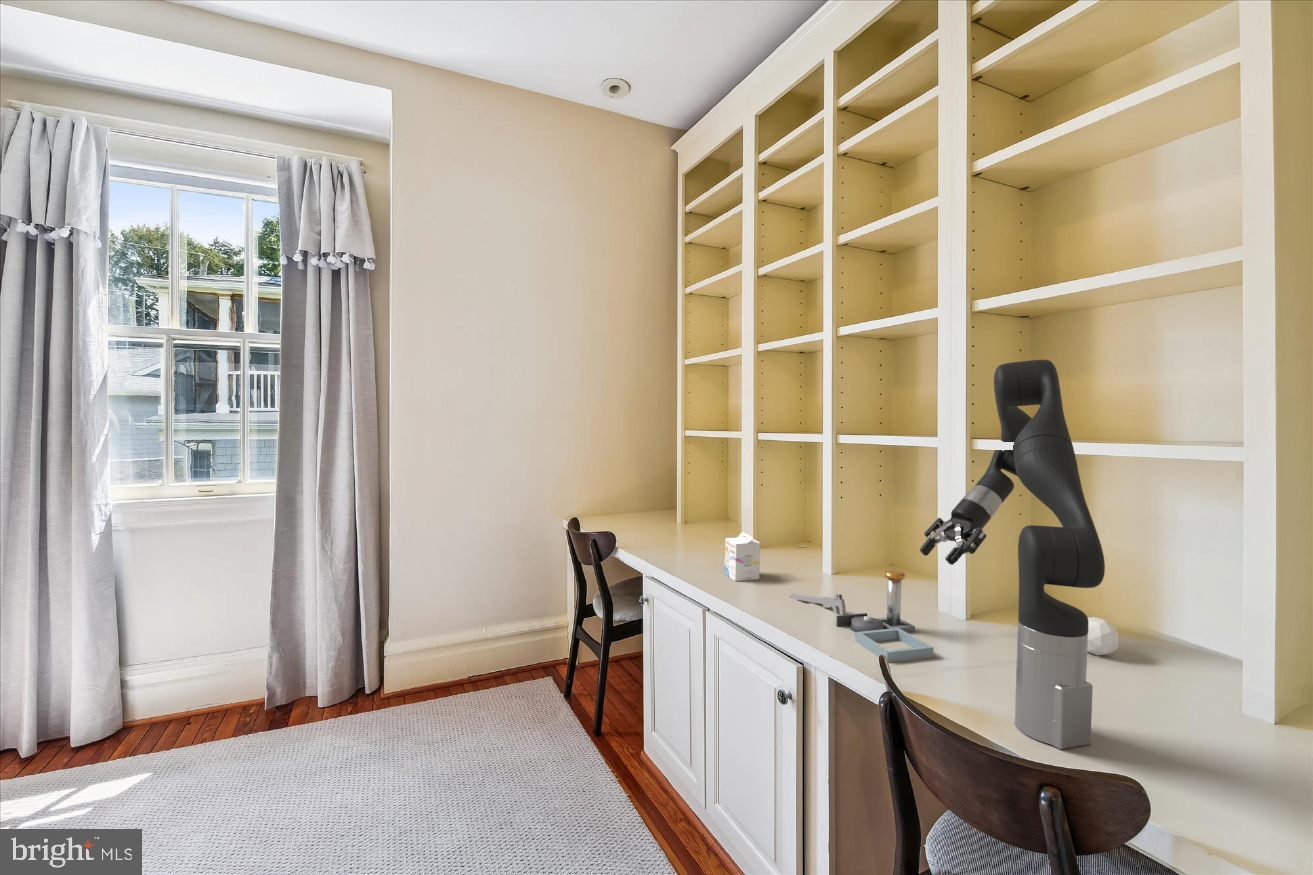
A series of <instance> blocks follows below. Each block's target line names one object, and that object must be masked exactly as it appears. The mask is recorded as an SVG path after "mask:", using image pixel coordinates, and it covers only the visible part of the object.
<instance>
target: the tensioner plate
mask: <svg viewBox="0 0 1313 875" xmlns="http://www.w3.org/2000/svg"><path fill="white" fill-rule="evenodd" d="M835 623H836V624H835V625H836V627H845V628H847V629H848V630H850V631H853V633H855V632H863V631H873V630H883V629H893V628H899V629H901V630H903V631H905V632H907V633H908V634H910V635H919V634H920V633H919V632H918V631H916V626H915V625H913V624H912V623H909V622H907V621H906V620H903V619H902V618H901V619H900V626H892V627H891V626H890V625H888V624H887V616H885V617H877V618H875V617H871V616H868V613H867V612H861V613H853V614H851V613H850V614H845V615H840V614H839V615H836V622H835Z"/></svg>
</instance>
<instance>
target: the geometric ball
mask: <svg viewBox="0 0 1313 875" xmlns="http://www.w3.org/2000/svg"><path fill="white" fill-rule="evenodd" d="M1087 617H1088V616H1087ZM1088 623H1089V624H1088V647H1087V653H1089V654H1092V655H1096V656H1107V655H1108V656H1109V655H1110V654H1112V653H1114V652H1115V651H1116V650H1117V649H1118V647H1119V643H1120V637H1119V636H1120V635H1119V634H1118V630H1117V628H1116V627H1115V626H1114V625H1113V624H1111V623H1110V622H1109V621H1107V620H1105V619H1102V618H1100V617H1096V616H1091V617H1088Z"/></svg>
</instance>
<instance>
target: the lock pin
mask: <svg viewBox="0 0 1313 875" xmlns="http://www.w3.org/2000/svg"><path fill="white" fill-rule="evenodd" d="M884 578H886V579H887V586H886V587H887V589H886V590H887V591H886V597H887V598H886V617H887V624H888V625H890V626H891V627H892V626H900V619H902V618H901V615H902V614H901V613H902V612H901V611H902V580H905V579H906V574H905V572H903V571H899V570H891V569H890V570H885V571H884Z"/></svg>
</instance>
